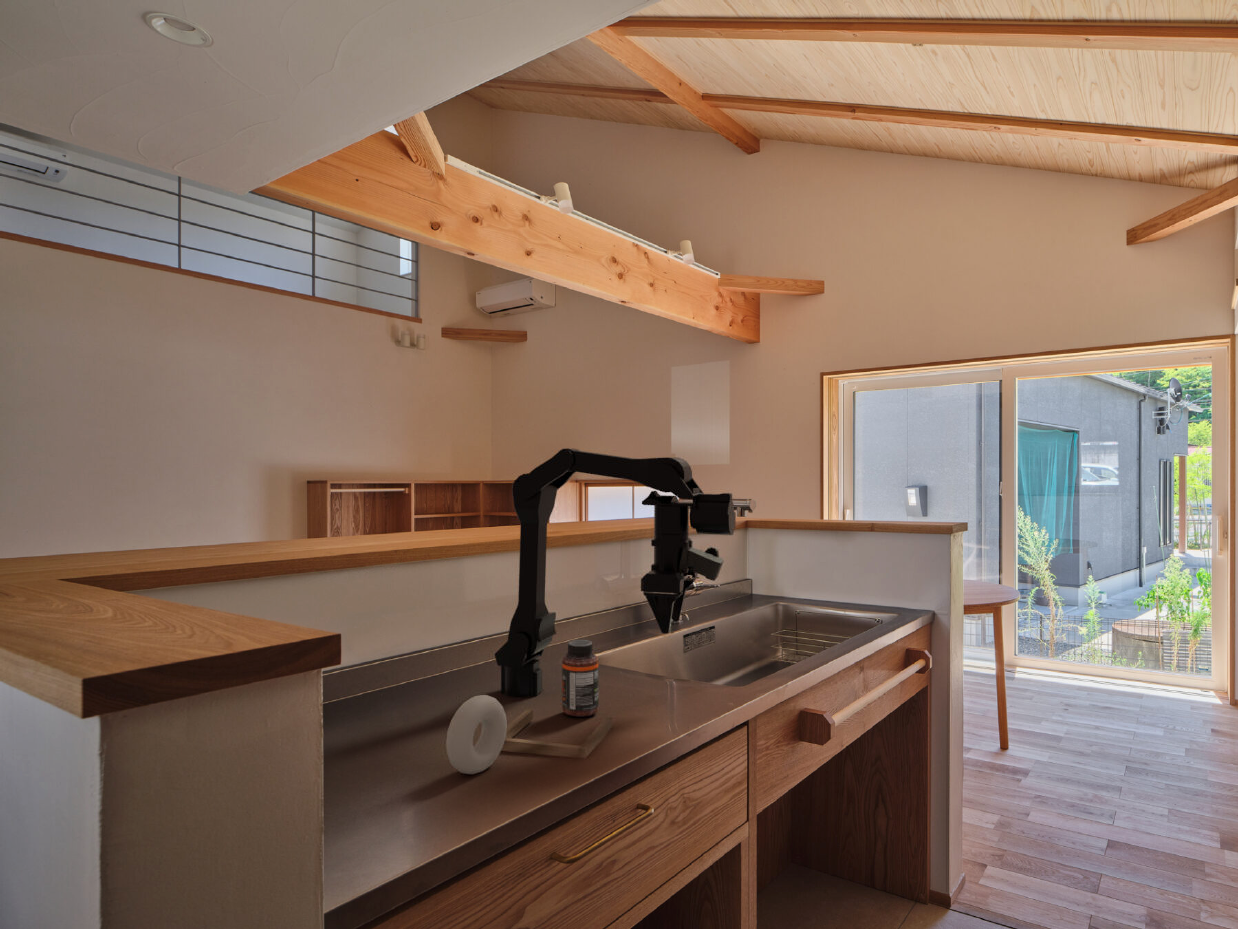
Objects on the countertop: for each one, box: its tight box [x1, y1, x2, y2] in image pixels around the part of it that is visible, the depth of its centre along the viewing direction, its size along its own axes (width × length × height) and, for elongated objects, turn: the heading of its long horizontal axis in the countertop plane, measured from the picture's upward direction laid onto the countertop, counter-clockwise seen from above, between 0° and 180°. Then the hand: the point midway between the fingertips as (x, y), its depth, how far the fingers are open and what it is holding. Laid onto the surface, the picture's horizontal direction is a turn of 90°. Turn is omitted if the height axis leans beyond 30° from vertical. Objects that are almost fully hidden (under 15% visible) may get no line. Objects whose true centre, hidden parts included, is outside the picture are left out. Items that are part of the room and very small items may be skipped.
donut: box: [445, 694, 508, 776], centre depth 97 cm, size 10×4×10 cm, turn 148°
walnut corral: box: [500, 708, 613, 759], centre depth 109 cm, size 14×13×2 cm
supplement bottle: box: [561, 639, 600, 717], centre depth 121 cm, size 6×6×11 cm
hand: (670, 627), depth 123 cm, fingers open, 9 cm apart
